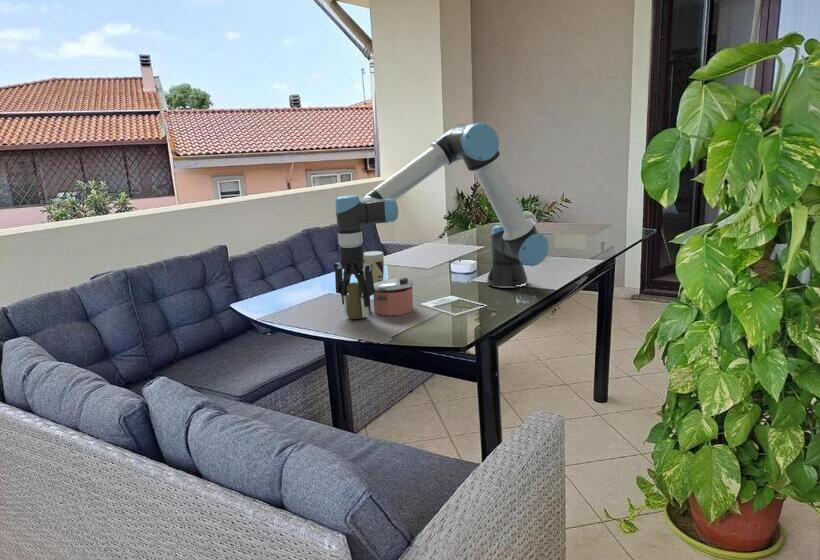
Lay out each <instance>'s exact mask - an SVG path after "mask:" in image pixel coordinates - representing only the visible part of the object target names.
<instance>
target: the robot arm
mask: <svg viewBox="0 0 820 560" xmlns="http://www.w3.org/2000/svg"><path fill="white" fill-rule="evenodd" d="M499 139H500V138H499V135H498V133H497V131H496V130H495V128H493V127H492V126H491V125H489V124H487V123H483V122H471V123H461V124H457V125H455V126H453V127H452V128H450V129H449V130H447V131H446V132H444V133H443V134H442V135H440V136H439V137H438V138H437V139H435V140H434V141H433V142H431V143H430V147H429V148H428V149H427V150H425V151H424V152H423V153H421V154H420V155H419V156H417V157H416V158H414V159H413V160H412V161H410V162H409V163H408V164H406V165H405V166H404V167H402V168H401V169H399V170H398V171H396V172H395V173H394V174H393V175H391V176H390V177H389V178H387V179H386V180H385V181H383V182H382V183H380V184H379V185H378V186H376V187H375V188H374V189H373V190H371V191H369V192H368V193H367V194H364V195H360V196H359V195H356V194H355V195H354V194H351V195H348V194H347V195H342V196H338V197H336V199H335V214H336V216H335V217H336V225H337V238H338V245H339V248H338V249H339V258H340V261H338V262H336V263H334V264H333V269H334V277H335V293H336V294H340V296H341V303H342V305H343V307H344V315H345V316H348V304H349V293H348V292H347V285H348V284H350V283H351V279H352V278H351V277H352V275H353V276H354V277H355V278H356V280H357V282H358V284H359V286H360V289H361V292H362V297H361V305H362V317H363V318H366V317H368V316H370V312H369V309H368V306H371V296H373V294H374V293H375V291H374V284H373V276H372V268H373V265H372V264H370V265H368V264H366V263H365V262H364V260H363V256H364V246H363V229H362V227H363V226H367V225H376V224H388V223H394V222H396V221H397V220H398V218H399V206H398V203H397V201H398V200H399V199H400V198H402V197H403V196H404V195H406V194H407V193H408V192H410V191H411V190H413V189H414V188H415V187H417V186H418V185H419V184H421V183H422V182H423V181H425V180H426V179H427V178H429V177H430V176H432V175H433V174H434V173H436V172H438V170H439V169H441V168H442V167H449V166H450V165H451V164H453V163H454V162H458V161H460V160H462V161H463V162H464V164H465V166H466V167H467V170H468V171H469V172H472V173H474V174H475V175H476V178H477V179H478V181H479V182H478V183H480V185H481V188H482V190H483V191H484V194H485V196H486V197H487V199H488V202H489V203H490V206H491V207H492V209H493V211H494V213H495V215H496V217H497V219H498V221H499V223H500V225H494V226H492V227H491V232H490V238H491V240H490V244H491V245H490V246H491V248H490V249H491V267H490V269H489V273H488V275H487V277H486V279H487V280H486V281H487V283H488V284H490V285H494V286H516V285H521V284H524V283H526V282H527V283H528V276H527V273H526V271H525V267H524V266H528V267H536V266H538V265H539V264H542V262H543V261H545V259H546V258H547V256H548V252H549V250H550V244H549V243H550V242H549V241H548V238H546V236H545V235H543V234H542V233H539V231H538V230H537V228H536V225H535V223H534V222H533V221H532V220H528V219H527V218H526V215H525V213H524V211H523V209H522V207H521V204H520V203H519V201H518V198H517V197H516V194H515V192H514V191H513V188H512V186H511V185H510V182H509V180H508V178H507V176H506V174H505V171H504V170H503V168H502V166H501V164H500V161H499V160H500V157H501V153H500V150H499V145H500V140H499ZM363 267H364V271H365V278H364V272H363ZM365 280H366V281H365ZM369 297H370V298H369Z"/></svg>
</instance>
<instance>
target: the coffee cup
mask: <svg viewBox="0 0 820 560" xmlns="http://www.w3.org/2000/svg"><path fill="white" fill-rule="evenodd" d="M384 256H385V254H384V252H383V251H381V250H371V251H365V252H364V256H363V260H364V262H365V263H366V264H368V265H370V264H372V265H373V268H372V276H373V284H374V283H376V282H379V279H383V280H384V273H385V272H384V266H385V265H384V261H385V260H384V258H385V257H384ZM363 272H364V278H365V271H364V267H363ZM365 281H366V280H365Z"/></svg>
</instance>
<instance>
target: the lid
mask: <svg viewBox="0 0 820 560" xmlns="http://www.w3.org/2000/svg"><path fill="white" fill-rule="evenodd" d="M411 286H412V287H413V286H414V280H413V279H412V278H408V277H400V278H398V277H397V278H389V279H383V281H379V282H376V283H374V290H377V291H394V290H401V289H405V288H408V287H411Z"/></svg>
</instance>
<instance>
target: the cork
mask: <svg viewBox="0 0 820 560" xmlns="http://www.w3.org/2000/svg"><path fill="white" fill-rule="evenodd" d="M347 292H348V293H347V294H349V304H348V315H347V318H349V319H352V320H353V319H357V320H358V319H363V318H364V317H362V305H361V297H363V295H362V292H361V289H360V286H359V284H358V281H357V282H355V281H354V282H350V284H348V285H347Z"/></svg>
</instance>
